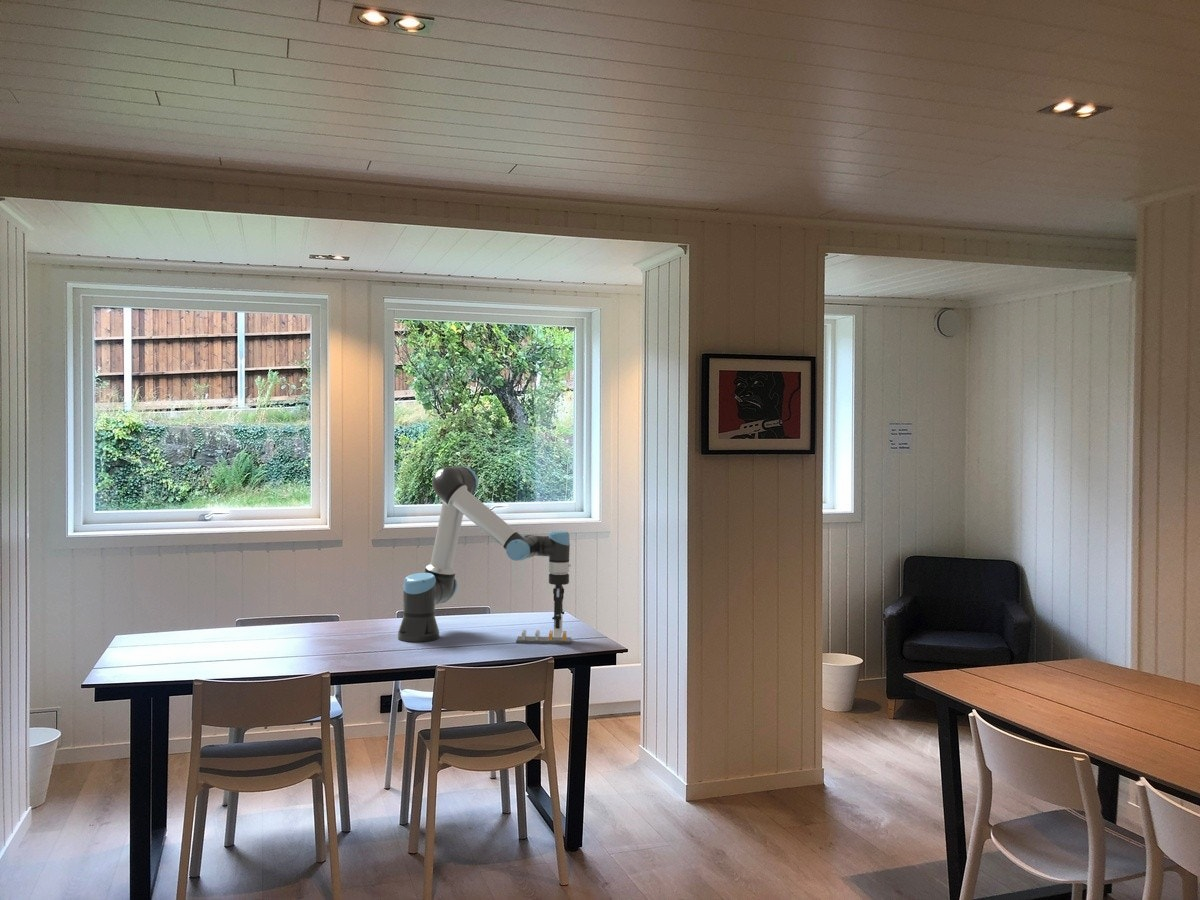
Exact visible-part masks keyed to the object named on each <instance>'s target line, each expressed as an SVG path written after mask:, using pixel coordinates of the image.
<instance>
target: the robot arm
mask: <svg viewBox="0 0 1200 900" xmlns="http://www.w3.org/2000/svg"><path fill="white" fill-rule="evenodd" d="M431 485H432V489H433V491H434V493H435V494H436V495H437V496H438V498H439V500H440V501H441V504H442V505H441V508H440V509H441V510H440V515H439V519H438V525H437V530H436V535H435V540H434V543H433V544H434V545H433V549H432V553H431V554H432V555H431V559H430V562H429V564H427V565H426V566H425V569H424V572H417V573H412V574H409V575H407V576H406V577H405V578H404V580H403V587H402V590H403V592H402V593H403V596H402V597H403V600H402V601H403V602H402V603H403V605H402V606H403V607H402V609H403V610H402V612H403V614H402V616H403V617H402V619H401V623H400V625H399V629H398V631H397V639H398V640H401V641H403V642H414V643H415V642H416V643H422V642H431V641H435V640H439V638H440V629H439V627H438V623H437V619H436V614H435V613H436V605H441V604H443V603H447V602H448V601H449V600H451V599H452V598H453V597H454V596H455V595H456V593H457V589H458V581H457V580H456V570H455V568H454V564H455V563H454V562H455V556H456V552H457V547H458V541H459V537H460V532H461V527H462V522H463V518H464V516H465V517H466V518H468V519H469V520H470V521H471V522H472V523H473V524H475V525H476V526H477V527H478V528H479V529H481V531H483V533H485V534H486V535H488V536H489V537H490V538H492V540H493V541H494V542H496V543H497V544H498V545H499V546H501V547H502V548H503V549H504V550H505V553H506V555H507V557H508V558H509V559H510V560H512V561H515V562H516V561H517V562H518V561H519V562H520V561H524V560H526V559H529V558H530V559H531V558H532V557H548V572H549V574H548V584H550V585H555V587H553V590H552V593H553V601H554V605H553V608H554V609H553V610H554V611H553V617H552V618H551V619H552V620H553V637H562V634H561V613H562V618H563V616H564V615H565V611H563V610H564V609H563V601H564V594H565V588H564V586H566V585H568V584H570V574H569V572H570V567H572V565H571V564H570V550H571V549H570V548H571V547H570V546H571V542H570V533H569V532H568V531H566V530H552V531H550V532H549V535H533V534H526V535H525V534H520V533H519V532H518V531H516V530H515V529H514V528H513V527H512V526H510V525H509V524H508V523H507V522H506V521H505V520H503V518H501V516H499V515H497V514H496V513H495V512H493V510H492V509H490V508H489V507H488V506H487V505H485V503H483V502H482V501H481V500H480V499H478V498H477V497H476V496H475V495H474V493H475V492H476V491H477V489H478V486H479V480H478V476H477V474H476V472H475V471H474V470H473V469H472V468H470V467H467V466H463V465H457V466H445V467H441V468H440V469H438V470H437V471H436V472H435V473H434V474H433V477H432V481H431Z"/></svg>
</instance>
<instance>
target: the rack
mask: <svg viewBox="0 0 1200 900" xmlns="http://www.w3.org/2000/svg"><path fill="white" fill-rule="evenodd" d="M540 632H541V631H540V630H539V629H537V630H536V631H535V634H534V636H528V635H527V630H526V629H523V630H522V632H521V636H520V635H519V636H517V638H516V640H515V641H516V644H546V645H547V644H548V645H549V644H551V645H557V644H558V645H572V637H567V630H562V636H561V637H554V630H549V631H548V632H549V633H548V636H540V635H541V633H540Z"/></svg>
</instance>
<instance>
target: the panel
mask: <svg viewBox="0 0 1200 900" xmlns="http://www.w3.org/2000/svg"><path fill="white" fill-rule="evenodd" d="M562 615H563V614H562V613H561V635H563V617H562Z"/></svg>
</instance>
